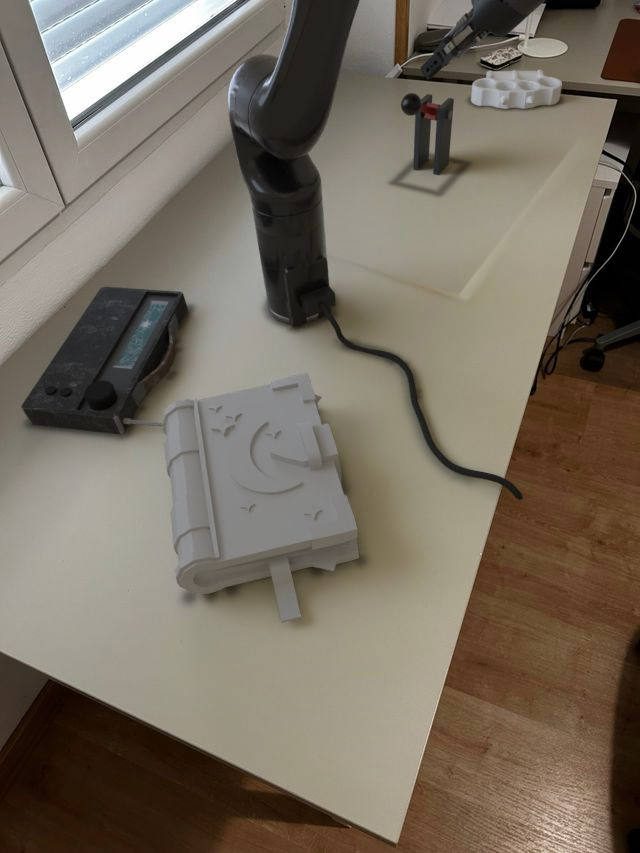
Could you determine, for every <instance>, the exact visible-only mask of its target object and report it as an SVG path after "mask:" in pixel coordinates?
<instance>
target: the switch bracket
mask: <svg viewBox="0 0 640 853" xmlns="http://www.w3.org/2000/svg"><path fill="white" fill-rule="evenodd" d="M420 99H421V104H423V105H426V106H427V102H428V103H433V94H430V93H427V94H425V95H423V97H422V98H420ZM454 103H455V98H452V97H448V98H447V99H445V101H443V103H442V104H439V105H440V106H439V107H438V108H437V121H436V124H435V126H436V127H435V142H434V156H433V157H434V158H433V172H432V174H433V175H436V176H439V175H440V174H441V173H442V172H443V171H444V170H445V169H446V168H447V167H448V165H450V152H451V142H452V128H453V127H452V126H453V115H454ZM424 114H425V113H424V112H421V111H419V112H418V113H417V114H415V115H414V116H415V117H414V138H413V139H414V140H413V141H414V142H413V162H412V163H413V164H412V168H413V169H412V170H413V171H419V170H420V169H422V168H423V166H425V165H426V163H427V162H429V160H430V146H431V126H432V120H430V119H426V118H424Z"/></svg>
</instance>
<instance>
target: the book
mask: <svg viewBox="0 0 640 853" xmlns="http://www.w3.org/2000/svg"><path fill="white" fill-rule="evenodd" d="M322 398H323V397H322V396H321V395H318V394H315V391H314V387H313V384H312V379H311V377H310V375H309V372H306V373H300V374H294V375H291V376H287V377H282V378H279V379H275V380H272V381H270V383H269V384H264V385H260V386H256V387H251V388H247V389H242V390H236V391H233V392H228V393H223V394H219V395H215V396H209V397H206V398H201V399H197V398H196V399H190V398H186V399H182V400H175V401H173V402H172V403H171V404H170V405H168V406H167V407H166V408H165V409H164V410H163V414H162V418H161V423H162V427H161V428H162V431H163V433H164V435H166V436H165V437H166V438H165V441H164V444H163V445H164V453H165V466H166V472H167V476H168V477H169V479H170V487H171V498H172V508H171V511H170V520H171V531H172V541H173V550H174V552H175V554H176V555H177V559H178V562H177V566H176V568H175V580H176V584H177V586H179V587H180V588H182V589H184V590H185V591H188V592H190V593H193V594H203V595H205V594H206V595H209V594H213V593H215V592H219V591H222V590H223V589H225V588H228V587H232V586H236V585H237V586H238V585H241V584H245V583H249V582H252V581H257V580H261V579H265V578H270V577H271V579H272V585H273V588H274V594H275V597H276V598H275V599H276V603H277V607H278V612H279V617H280V622H281V623H287V622H290V621H295V620H298V619H302V615H301V610H300V606H299V602H298V597H297V593H296V588H295V584H294V579H293V575H292V572H294V571H299V570H303V569H307V568H311V567H314V568H315V569H322V570H327V571H332V572H335V570H336V566H337V565H338V564H344V563H347V562H351V561H355V560H358V559H360V553H359V545H358V534H359V532H358V526H357V521H356V518H355V515H354V512H353V509H352V507H351V503H350V501H349V499H348V496H347V494H345V493H344V490H343V487H342V478H343V477H342V475H343V474H342V467H341V466H342V465H341V462H340V455H339V451H338V448H337V445H336V442H335V438H334V436H333V432H332V430H331V427H330V423H328V422H327V423H323V424H322V421H321V417H320V414H319V410H318V408H319V405H318V403H319V402H320V401H321V400H322Z"/></svg>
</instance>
